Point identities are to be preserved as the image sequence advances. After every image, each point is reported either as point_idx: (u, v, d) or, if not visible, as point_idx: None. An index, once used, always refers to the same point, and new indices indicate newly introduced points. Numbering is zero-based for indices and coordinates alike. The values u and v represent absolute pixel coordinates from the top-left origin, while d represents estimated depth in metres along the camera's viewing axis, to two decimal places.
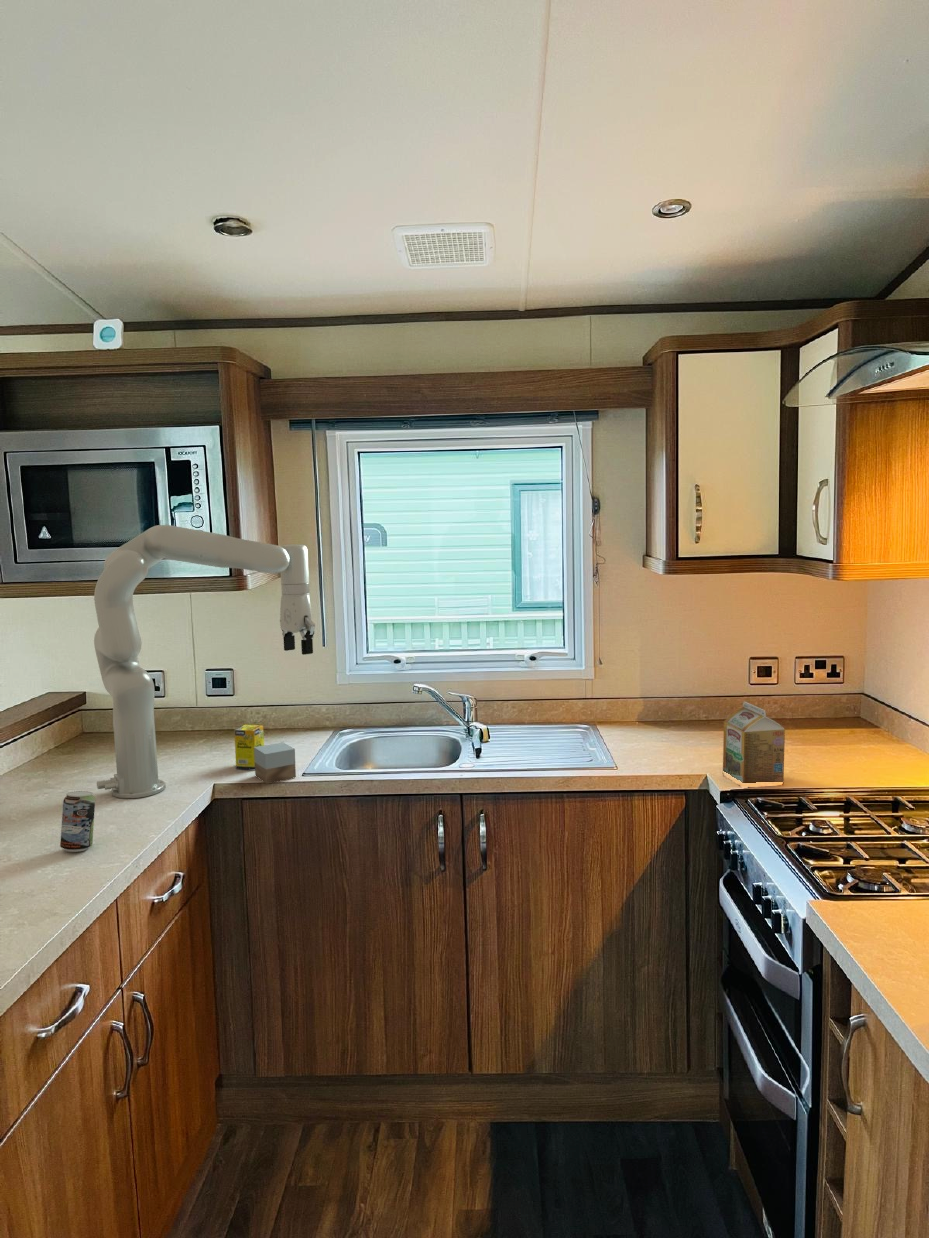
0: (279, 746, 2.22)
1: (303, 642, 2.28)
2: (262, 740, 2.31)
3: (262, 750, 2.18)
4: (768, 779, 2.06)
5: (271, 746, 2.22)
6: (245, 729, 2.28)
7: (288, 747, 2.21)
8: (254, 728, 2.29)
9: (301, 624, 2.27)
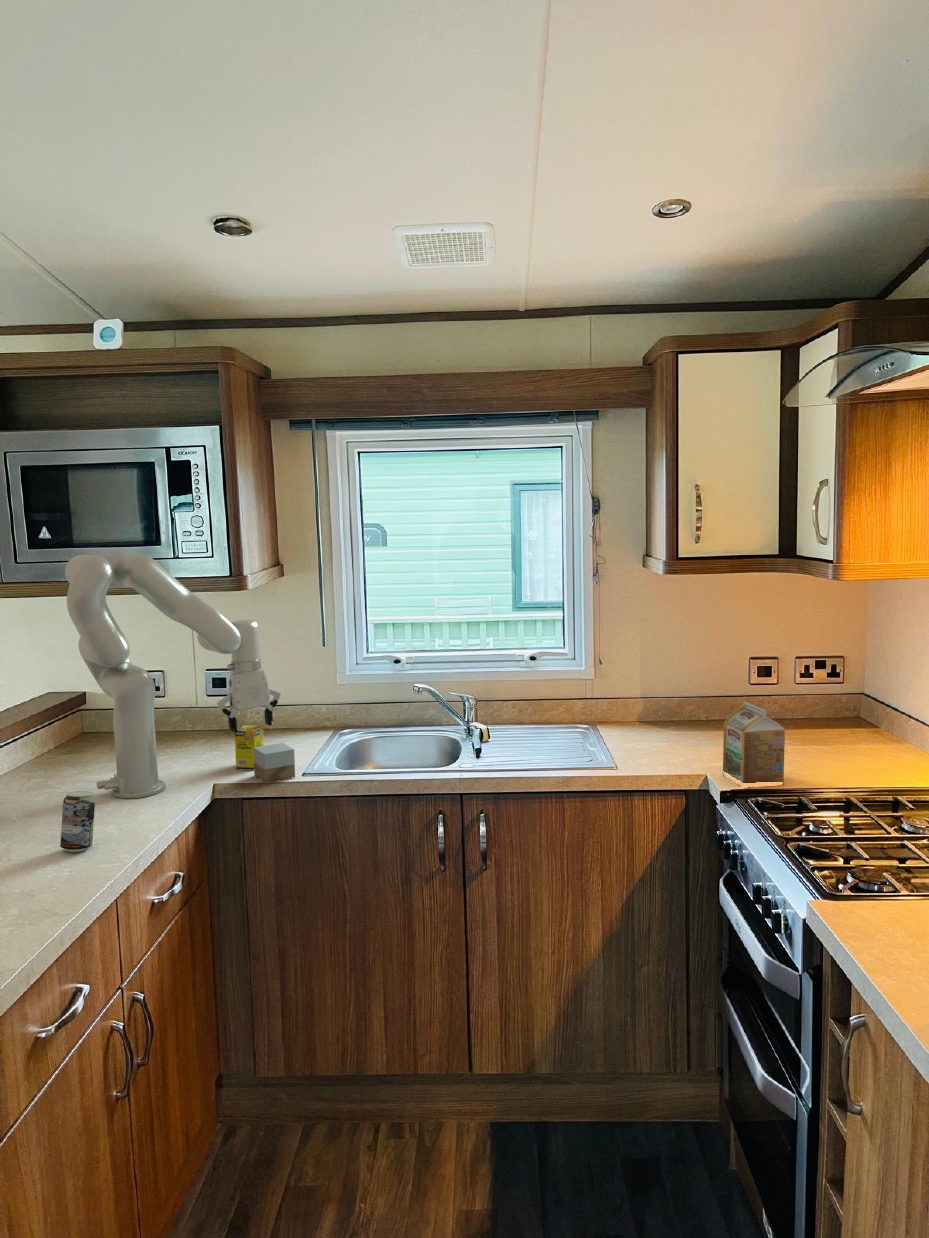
0: (278, 746, 2.22)
1: None
2: (262, 740, 2.31)
3: (261, 750, 2.18)
4: (768, 779, 2.06)
5: (270, 746, 2.22)
6: (245, 730, 2.28)
7: (287, 747, 2.21)
8: (254, 729, 2.29)
9: None
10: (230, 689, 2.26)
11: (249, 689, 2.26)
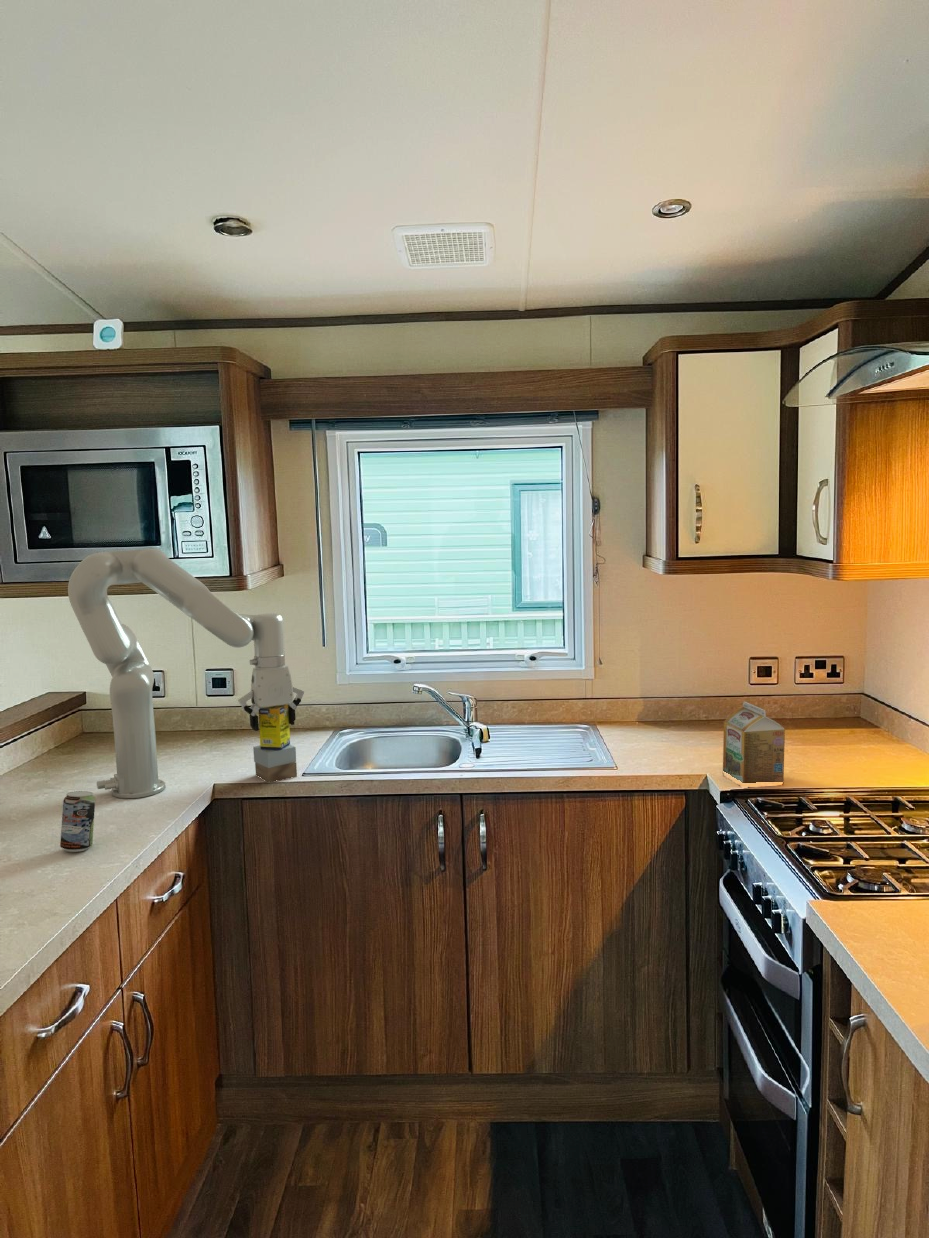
0: None
1: None
2: (287, 719, 2.21)
3: (263, 749, 2.19)
4: (768, 779, 2.06)
5: None
6: (270, 708, 2.18)
7: (288, 745, 2.22)
8: (279, 707, 2.18)
9: None
10: (252, 685, 2.15)
11: (272, 686, 2.16)
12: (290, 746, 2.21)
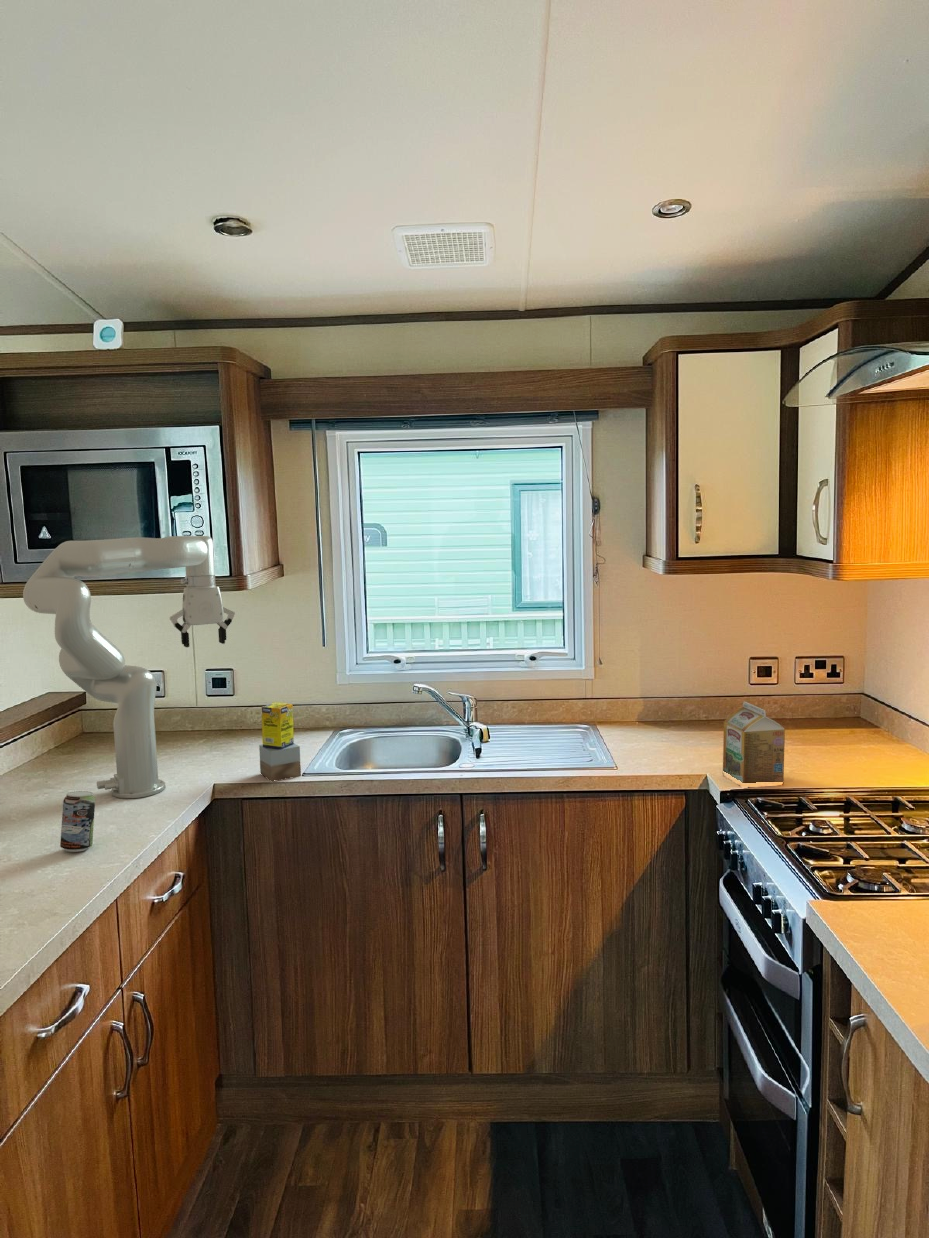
0: None
1: None
2: (290, 719, 2.21)
3: (267, 748, 2.20)
4: (768, 779, 2.06)
5: None
6: (272, 706, 2.19)
7: (293, 744, 2.23)
8: (282, 706, 2.19)
9: None
10: (183, 604, 2.26)
11: (202, 604, 2.26)
12: (294, 745, 2.22)
